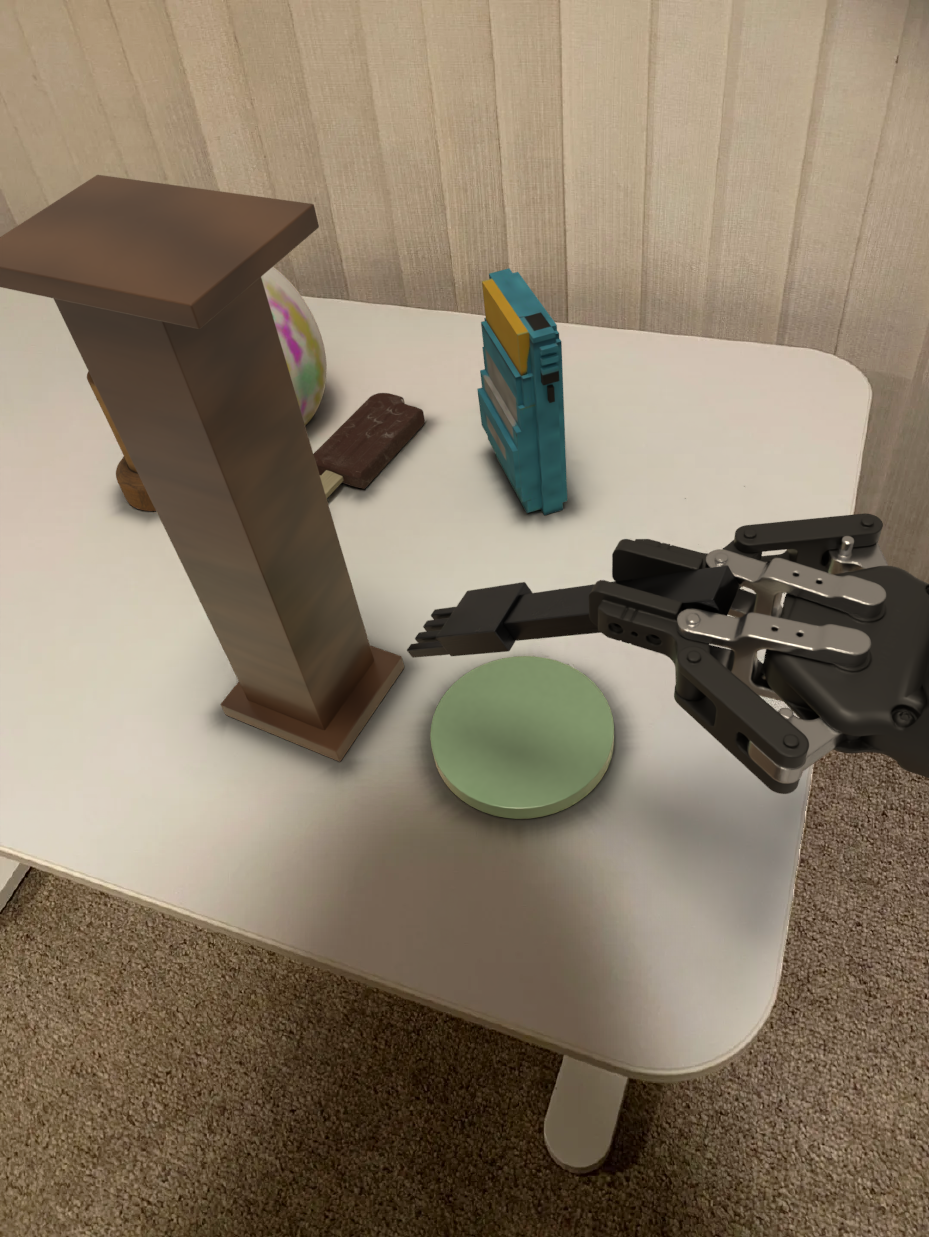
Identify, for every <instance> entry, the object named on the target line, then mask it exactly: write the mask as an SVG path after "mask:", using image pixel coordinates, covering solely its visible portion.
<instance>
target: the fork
mask: <svg viewBox="0 0 929 1237" xmlns="http://www.w3.org/2000/svg"><path fill="white" fill-rule="evenodd" d="M611 582H612V583H616V584H620V585H623V586H627V587H630V588H634V589H638V590H641V591H645V592H648V593H652V594H655V595H659V596H663V597H666V598H670V599H673V600H677V601H680V602H682V609H681V612H682V611H684V610H686V609H698V610H703V611H708V612H712V613H717V614H722V615H726V616H729V615H728V613H729V610H730V608H731V606H732V603H733V601H734V599H735V597H736V594H737V592H738V590H739V587H740V586H739V584H738V582H737V580H736V579H735V577H734V575H733V573H732V572H731V570H730V568H729V566H728V565H725V566H718V567H711V568H704V569H698V570H693V571H686V572H679V573H672V574H665V575H658V576H651V577H643V578H636V579H629V580H622V581H615V580H614V581H611ZM594 585H595V583H594V584H587V585H579V586H572V587H566V588H565V587H564V588H557V589H552V590H544V591H537V592H533V591H532V590H531V588H530V586H528V584H527V583H526V581H522V582H516V583H509V584H503V585H497V586H489V587H485V588H476V589H469V590H467V591H466V592H465V593H464V595H463V596H462V598H461V599H460V601H459V602H458V603H457V605H456V606H450V607H442V608H437V609H433V611H432V613H431V614H430V617H431V618H432V619H429V620H426V621H425V623H424V624H423V626H422V628H423V629H424V630H425V631H421V632H418V633H417V634H416V636H415V637H414V640H415V641H416V642H417V643H411V644H410V645H409V646H408V647H407V649H406V651H407V653H408V654H409V655H410V657H412V658H425V657H426V658H427V657H437V656H450V657H461V656H472V655H481V654H482V655H483V654H496V653H506V652H510V651H511V650H512V648H513V646H514V645H515V643H516V642H518V641H527V640H528V641H529V640H539V639H540V640H541V639H551V638H560V637H569V636H571V637H572V636H580V635H590V634H600V633H601V632H599V631H598V626H596V625H594V624H593V623H592V622H591V620H590V618H589V594H590V592H591V591H592V589H593V587H594ZM601 634H602V633H601Z"/></svg>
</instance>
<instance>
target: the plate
mask: <svg viewBox="0 0 929 1237" xmlns="http://www.w3.org/2000/svg"><path fill="white" fill-rule="evenodd" d="M429 738H430V747H431V752H432V754H433V759H434V764H435V767H436V769H437V771H438V774H439V776H440V777H441V779H442V781H443V783H444V784H445V785H446V786H447V788H448V789H449V790H450V791H451V792H452V793H453V794H454V795H455V796H456V797H457V798H458V799H459V800H461V801H462V802H464V803H465V804H466V805H468V806H469V807H471V808H474V809H476V810H477V811H480V812H482V813H485V814H488V815H491V816H494V817H500V818H505V819H513V820H515V819H516V820H527V819H528V820H529V819H535V818H542V817H547V816H549V815H553V814H556V813H559V812H561V811H564V810H566V809H569V808H571V807H572V806H573V805H575V804H578V803H579V802H580V801H581V800H583V799H584V798H585V797H587V796H588V795H589V794H590V793H591V792H592V791H593V790H594V789H595V788H596V787H597V786H598V785H599V783H600V782H601V781H602V779H603V778H604V776H605V774H606V772H607V770H608V769H609V766H610V764H611V760H612V758H613V753H614V747H615V746H614V745H615V724H614V717H613V713H612V709H611V706H610V705H609V702H608V700H607V698H606V697H605V695H604V693H603V692H602V690H601V689H600V688H599V687H598V686H597V685H596V683H595V682H594V681H592V680H591V679H590V678H589V677H588V676H587V675H585V674H584V673H583V672H582V671H580V670H578V669H577V668H575V667H573V666H571V665H569V664H566V663H564V662H561V661H559V660H556V659H553V658H552V659H551V658H548V657H542V656H536V655H535V656H533V655H532V656H531V655H519V656H509V657H503V658H499V659H496V660H491V661H489V662H486V663H484V664H481V665H479V666H476V667H475V668H473V669H471V670H469V671H468V672H466V673H465V674H463V675H462V676H461V677H460V678H458V679H457V680H456V681H454V683H453V684H452V685H451V686H450V687H449V688H448V689H447V690H446V692H444V694H443V696H442V697H441V699H440V700H439V702H438V704H437V706H436V707H435V711H434V713H433V716H432V720H431V724H430V732H429Z"/></svg>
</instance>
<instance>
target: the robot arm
mask: <svg viewBox="0 0 929 1237" xmlns="http://www.w3.org/2000/svg"><path fill="white" fill-rule="evenodd" d="M883 527H884V522H883V521H882V519H881V518H880V517H878V516H877V515H875V514H872V513H865V512H864V513H856V514H845V515H834V516H824V517H814V518H804V519H795V520H784V521H773V522H764V523H763V522H762V523H755V524H745V525H742V526H740V527H737V529H736V530H735V532H734V537H733V540H731V542H729V543H728V544H726V546H725V547H723V548H719V549H713V550H711V551H710V552H707V553H706V552H701V551H697V550H693V549H690V548H685V547H681V546H678V545H674V544H670V543H666V542H661V541H658V540H654V539H650V538H635V540H633V539H629V538H623V539H620V540H619V541H618V543H617V545H616V547H615V548H614V549H613V552H612V555H611V576H612V580H614V581H622V580H629V579H636V578H643V577H651V576H658V575H665V574H672V573H679V572H686V571H693V570H698V569H704V568H711V567H718V566H725V565H728V566H729V568H730V570H731V572H732V573H733V575H734V577H735V579H736V580H737V582H738V584H739V586H740V587H739V590H738V592H737V594H736V597H735V599H734V601H733V603H732V606H731V608H730V610H729V613H728V615H727V616H726V615H722V614H717V613H712V612H708V611H703V610H698V609H686V610H684V611H682V612H681V609H682V602H680V601H677V600H673V599H670V598H666V597H663V596H659V595H655V594H652V593H648V592H645V591H641V590H638V589H634V588H630V587H627V586H623V585H620V584H616V583H612V582H613V581H608V580H604V579H600V580H598V581H596V582H595V583H594V584H595V585H594V587H593V589H592V591H591V592H590V594H589V618H590V620H591V622H592V623H593V624H594V625H596V626H598V631H599V632H601V634H602V635H603V636H605V637H606V638H609V639H612V640H615V641H619V642H620V641H621V642H622V643H624V644H629V645H632V646H635V647H638V648H641V649H644V650H647V651H652V652H654V653H657V654H661V655H664V656H666V657H667V658H669V659H670V660H671V661H672V663H673V665H674V670H675V673H674V674H675V684H674V692H673V697H674V698H673V699H674V701H675V702H676V704H677V705H678V706H679V707H681V709H683V711H685V712H686V713H687V714H688V715H689V716H690V717H691V718H692V719H693V720H694V721H696V723H698V725H700V726H701V727H702V728H703V729H704V730H705V731H706V732H707V733H708V734H710V735H711V736H712V737H713V738H714V739H715V740H716V741H717V742H718V743H719V744H721V746H723V748H725V749H726V751H728V752H729V753H730V754H731V755H732V756H733V757H734V758H735V759H737V760H738V761H739V762H740V763H741V764H742V765H743V766H744V767H745V768H746V769H747V770H748V771H750V773H752V775H754V776H755V777H756V778H757V779H758V780H759V781H760V782H761V783H762V784H764V785H765V786H766V787H767V788H768V790H770V791H771V792H774V793H776V794H780V795H788V794H791V793H793V792H794V791H795V790H796V789H797V788H798V786H799V784H800V779H801V778H802V776H803V773H804V772H805V771H806V770H807V769H808V768H810V767H811V766H812V765H814V764H815V763H817V762H818V761H819V760H820V759H822V758H823V757H825V756H826V755H828V754H829V753H830V752H832V751H836V752H838V753H841V754H851V755H854V754H866V753H870V754H872V753H873V754H880V755H885V756H887V757H889V758H891V759H893V760H894V761H895V762H896V763H897V764H898V766H899V767H900V768H901V769H903V770H905V771H906V772H909V773H912V774H915V775H918V776H922V777H924V778H927V779H929V582H926V581H924V580H922V579H920V578H918V577H916V576H915V575H913V574H912V573H910V572H909V571H907V570H906V569H904V568H901V567H899V566H894V565H889V564H888V560H887V559H886V557H885V555H884V553H883V551H882V549H881V546H880V544H879V541H880V537H881V533H882V530H883ZM783 550H785V551H784V552H782V553H779V554H770V555H763V552H764V553H765V552H775V551H776V552H777V551H783ZM742 587H743V588H747V589H750V590H752V591H753V592H751V591H748V590H745V589H742ZM783 593H785V596H784V599H783V603H782V597H783ZM762 650H765V652H764V657H763V662H762V661H760V659H759V658H758V652H759V651H762ZM762 697H763V698H762ZM764 698H767V699H771V700H774V701H775V700H776V701H779V702H783V703H784V704H785V705H786V706H787V707H781V708H780V709H779V710H776V708H774V706H772V705H771V704H770V703H768V701H766V700H765V699H764Z"/></svg>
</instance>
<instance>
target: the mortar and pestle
mask: <svg viewBox="0 0 929 1237" xmlns="http://www.w3.org/2000/svg"><path fill="white" fill-rule="evenodd" d="M86 380H87V383H88V384H89V386H90V388H91V391H92V393H93V395H94V396H95V398H96V400H97V402H98V404H99V407H100V408H101V410H102V413H103V415H104V417H105V419H106V421H107V423H108V425H109V427H110V429H111V432H112V434H113V436H114V438H115V440H116V442H117V444H118V446H119V450H120V451H121V454H122V455H123V456H122V458H121V459H120V461H119V462H118V464H117V467H116V469H115V478H116V481H117V483H118V486H119V488H120V489H121V492H122V494H123V496H124V499H125V500H126V501H127V503H128V504H129V506H131V507H133V508H135V509H138V510H141V511H145V512H157V511H156V509H155V507H154V505H153V503H152V501H151V499H150V497H149V495H148V493H147V491H146V489H145V487H144V485H143V483H142V481H141V478H140V476H139V474H138V472H137V470H136V468H135V466H134V464H133V462H132V460H131V458H130V456H129V454H128V452H127V450H126V447H125V445H124V443H123V441H122V439H121V437H120V435H119V433H118V431H117V429H116V427H115V425H114V423H113V421H112V419H111V416H110V414H109V412H108V410H107V408H106V406H105V404H104V402H103V400H102V398H101V396H100V394H99V392H98V390H97V388H96V385H95V383H94V381H93V379H92V377H91V375H90V373H89V371H88V370H87V374H86Z"/></svg>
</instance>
